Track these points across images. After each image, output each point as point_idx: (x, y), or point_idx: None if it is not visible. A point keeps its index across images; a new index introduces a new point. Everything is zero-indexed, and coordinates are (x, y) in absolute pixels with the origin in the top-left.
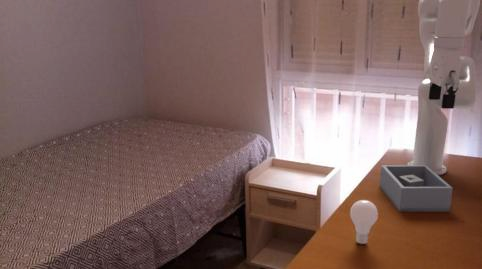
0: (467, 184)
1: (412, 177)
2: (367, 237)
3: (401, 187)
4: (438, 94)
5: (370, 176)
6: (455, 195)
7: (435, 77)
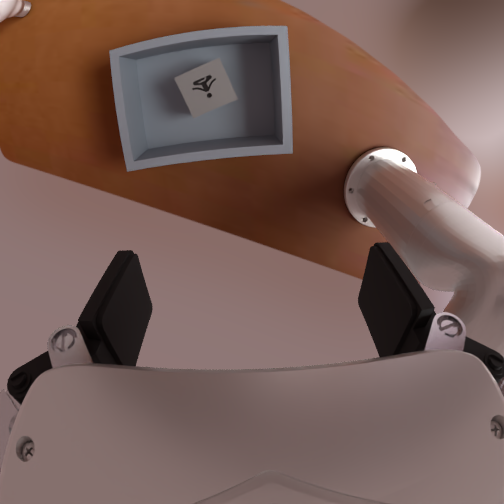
0: (292, 237)
1: (213, 92)
2: (16, 16)
3: (113, 50)
4: (371, 315)
5: (342, 38)
6: (230, 192)
7: (187, 461)
